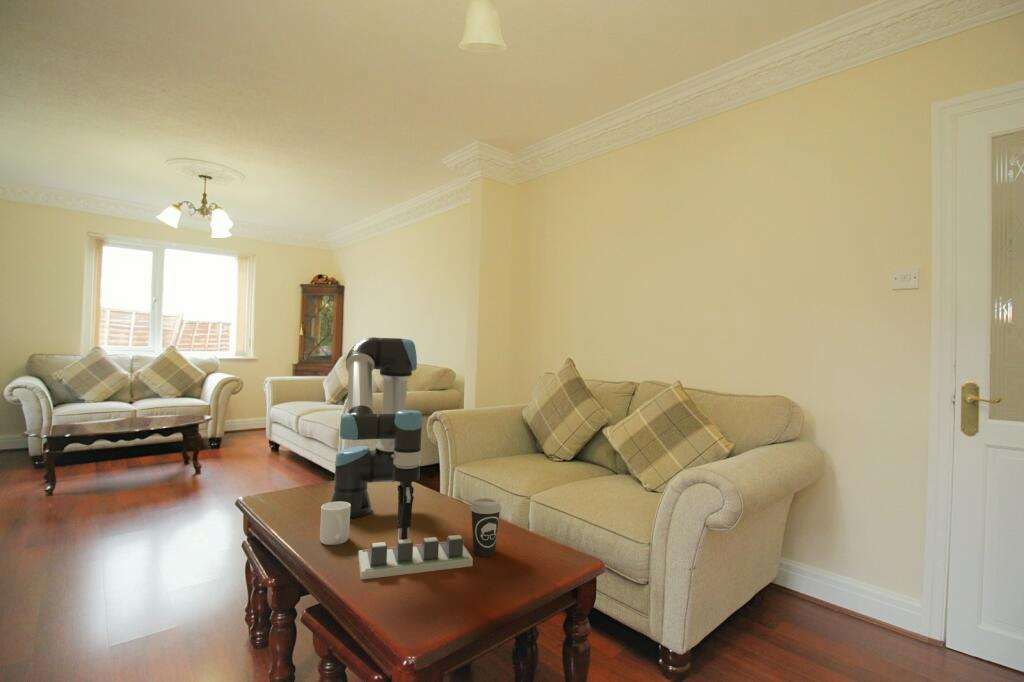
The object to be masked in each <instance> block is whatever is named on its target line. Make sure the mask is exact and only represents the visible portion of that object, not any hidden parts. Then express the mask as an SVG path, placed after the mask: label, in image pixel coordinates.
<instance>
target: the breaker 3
mask: <svg viewBox="0 0 1024 682" xmlns="http://www.w3.org/2000/svg"><path fill="white" fill-rule="evenodd" d="M421 542H422V543H421V544H422V557H423V559H433V558H438V549H439V542H440V541H439V539H438V538H437V536H434V537H424V538H422V541H421Z"/></svg>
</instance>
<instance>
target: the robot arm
mask: <svg viewBox="0 0 1024 682" xmlns="http://www.w3.org/2000/svg"><path fill="white" fill-rule="evenodd" d="M417 356H418V355H417V348H416V345H415V342H414V341H413V340H412V339H407V338H402V337H401V338H398V337H397V338H396V337H368V338H367V337H366V338H364V339H362V340H360V341H358V342H357V343H356V344H354V345H353V346H352V347H351V349H350V350H349V351H348V353H347V355H346V358H345V369H346V371H347V372H348V374H347V376H348V380H347V381H348V383H347V413H343V414H342V415H340V425H339V427H340V428H339V437H340V439H341V440H346V441H348V440H349V441H356V440H357V441H361V440H362V441H363V440H379V441H378V442H377V444H376V445H375V447H374V448H375V450H373V449H372V450H370V447H369V446H367V445H359V446H358V445H357V446H351V447H350V446H349V447H346V448H343V449H340V450H339V451H338V452H337V453H336V455H335V462H334V466H335V467H334V468H335V469H334V487H333V492H332V496H331V499H330V500H329V502H348V503H350V505H351V508H350V519H357V518H361V517H365V516H367V515H369V514H370V513H371V511H372V502H371V499H370V495H369V492H368V485H369V484H368V483H390V482H391V483H395V482H397V483H399V485H397V491H398V492H397V493H398V494H397V495H398V497H397V500H398V501H397V521H398V522H397V523H398V524H397V525H396V527H397V528H396V529H398V531H397V532H398V533H397V540H402V539H410V537H409V535H410V528H411V526H412V513H413V511H412V510H413V502H414V499H415V498H414V486H413V482H417V481H419V479H420V476H421V474H420V472H421V467H420V465H421V461H422V460H421V455H422V447H421V446H422V429H423V413H422V411H420V410H413V409H406V405H407V391H408V380H409V379H410V378H411V377H412V376H413V372H414V371H416V370H417V368H418V367H417V365H418V359H417ZM373 370H379V375H380V377H382V378H383V385H382V386H383V387H382V403H381V405H382V406H381V413H374V407H373V405H374V404H373V402H374V401H373V400H374V397H373Z"/></svg>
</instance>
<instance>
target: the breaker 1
mask: <svg viewBox="0 0 1024 682" xmlns="http://www.w3.org/2000/svg"><path fill="white" fill-rule="evenodd" d="M387 547H388V545H387V542H385V541H384V542H383V541H382V542H381V541H380V542H373V543H370V549H371V552H370V563H371V565H379V564H386V562H387Z"/></svg>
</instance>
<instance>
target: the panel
mask: <svg viewBox="0 0 1024 682" xmlns="http://www.w3.org/2000/svg"><path fill="white" fill-rule="evenodd" d="M446 547H447V540H446V541H439V549H438V558H433V559H423V557H422V543H420V544H419V543H418V544H417V543H416V544H413V557H412V560H405V561H397V558H396V549H397V545H396V546H389V547H388V546H387V562H386V564H379V565H371V563H370V552H371V548H367V549H361V550H358V555H357V556H358V557H357V558H358V566H359V575H360V580H369V579H376V578H384V577H393V576H402V575H410V574H418V573H419V574H420V573H427V572H435V571H442V570H443V571H444V570H453V569H459V568H460V569H461V568H466V567H467V568H469V567H473V566H474V564H473V562H474V561H473V560H474V559H473V557H472V555H471V554H470V552H469V551H468V549H467V548H466V547H465V545H464V544H463V555H459V556H451V557H449V556H448V555H447V553H446Z"/></svg>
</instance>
